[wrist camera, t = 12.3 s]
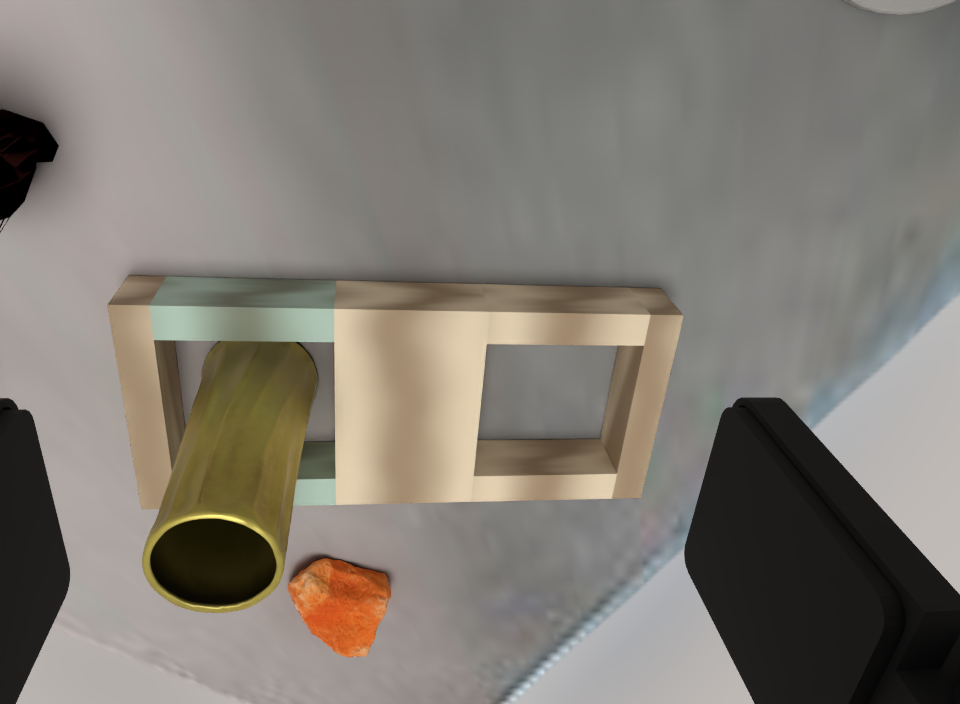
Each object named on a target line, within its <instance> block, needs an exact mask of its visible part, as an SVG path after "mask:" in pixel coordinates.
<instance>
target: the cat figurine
mask: <svg viewBox="0 0 960 704" xmlns="http://www.w3.org/2000/svg"><path fill="white" fill-rule="evenodd" d="M58 146H59V145H58V144H57V143H56V141H55V140H54V138H53V137H52V135H51V134H50V132H49V131H48V130H47V128H46V127H45V125H44V124H43V123H42V122H39V121H36V120H33V119H30V118H27V117H24V116H21V115H18V114H15V113H12V112H10V111H7V110H0V220H2V219H3V221H4V219H5V218H8V217H9V218H10V217H11V215H12V214H13V213H14V212H15V211H16V210H17V209H18V208H19V207H20V206H21V205H22V203H23V202H24V201H25V198H26V195H27V193H28V190H29V187H30V184H31V181H32V178H33V176H34V173H35V170H36V162H53V159H54V156H55V154H56V151H57V149H58ZM9 218H8V219H9ZM3 221H2V223H3ZM7 221H8V220H7ZM2 223H1V225H2ZM6 223H7V222H6ZM6 223H5V224H6ZM1 225H0V227H1ZM4 226H5V225H4ZM4 226H3V227H4ZM2 229H3V228H2ZM1 231H2V230H1ZM1 231H0V232H1Z"/></svg>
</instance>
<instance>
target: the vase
mask: <svg viewBox="0 0 960 704" xmlns="http://www.w3.org/2000/svg"><path fill="white" fill-rule="evenodd" d="M317 383H318V377H317V372H316V369H315V366H314V363H313V361H312V359H311V358H310V356H309V355H308V353H307V352H306V351H305V350H304V349H303V348H302V347H301V346H300V345H299V344H297V343H296V342H273V341H220V342H219V343H218V344H217V345H215V346H214V347H213V349H212V350H211V351H210V352H209V354H208V355H207V357H206V359H205V362H204V365H203V368H202V380H201V384H200V387H199V390H198V393H197V395H196V397H195V400H194V403H193V406H192V409H191V412H190V416H189V419H188V423H187V426H186V429H185V432H184V435H183V438H182V441H181V444H180V447H179V450H178V454H177V457H176V460H175V463H174V466H173V470H172V473H171V476H170V479H169V482H168V485H167V488H166V491H165V494H164V497H163V500H162V503H161V506H160V510H159V513H158V516H157V519H156V521H155V523H154V525H153V527H152V529H151V531H150V533H149V536H148V538H147V541H146V544H145V548H144V552H143V557H142V566H143V571H144V574H145V576H146V578H147V580H148V582H149V584H150V585H151V587H152V588H153V589H154V590H155V591H156V592H157V593H158V594H160V595H161V596H162V597H164V598H165V599H167V600H168V601H170V602H171V603H173V604H175V605H177V606H179V607H182V608H185V609H189V610H193V611H198V612H212V613H223V612H232V611H238V610H242V609H245V608H248V607H251V606H253V605H255V604H257V603H258V602H260V601H261V600H263V599H264V598H265V597H267V596H268V595H269V594H271V593H272V592H273V591H274V590H275V589H276V587H277V586H278V584H279V582H280V580H281V578H282V574H283V571H284V565H285V557H286V551H287V544H288V536H289V530H290V523H291V516H292V509H293V502H294V495H295V488H296V481H297V476H298V470H299V464H300V459H301V453H302V448H303V443H304V438H305V433H306V428H307V423H308V419H309V414H310V409H311V405H312V402H313V400H314V397H315V393H316V388H317Z"/></svg>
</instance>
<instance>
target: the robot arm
mask: <svg viewBox="0 0 960 704" xmlns="http://www.w3.org/2000/svg"><path fill="white" fill-rule="evenodd" d="M843 1H845V2H847V3H849V4H851V5H853V6H855V7H857V8H859V9H863V10H868V11H872V12H877V13H883V14H897V15H906V14H914V13H921V12H928V11H930V10H933V9H936V8H939V7H942V6H945V5H948V4H951V3H953V2H955V1H956V0H843ZM684 555H685V564H686V567H687V570H688V573H689V575H690V577H691V579H692V581H693V583H694V585H695V586H696V589H697V590H698V593H699V594H700V597H701V598H702V600H703V602H704V604H705V606H706V608H707V610H708V612H709V614H710V616H711V618H712V620H713V622H714V624H715V626H716V628H717V630H718V632H719V634H720V636H721V638H722V640H723V642H724V644H725V646H726V648H727V650H728V652H729V654H730V656H731V658H732V660H733V661H734V664H735V666H736V668H737V670H738V672H739V674H740V676H741V677H742V680H743V681H744V683H745V685H746V687H747V689H748V691H749V693H750V695H751V697H752V699H753V701H754V703H755V704H960V594H959V593H958V592H957V591H956V590H955V589H954V588H953V587H952V586H951V585H950V583H949V582H948V581H947V580H946V579H945V578H944V577H943V576H942V575H941V573H940V572H939V571H938V570H937V569H936V568H935V567H934V566H933V565H932V564H931V563H930V561H929V560H928V559H927V558H926V557H925V556H924V555H923V554H922V553H921V551H920V550H919V549H918V548H917V547H916V546H915V545H914V544H913V543H912V541H911V540H910V539H909V538H908V537H907V536H906V535H905V534H904V533H903V532H902V530H901V529H900V528H899V527H898V526H897V525H896V524H895V523H894V522H893V521H892V519H891V518H890V517H889V516H888V515H887V514H886V513H885V512H884V511H883V510H882V509H881V507H880V506H879V505H878V504H877V503H876V502H875V501H874V500H873V498H872V497H871V496H870V495H869V494H868V493H867V492H866V491H865V490H864V489H863V487H861V485H860V484H859V483H858V482H857V481H856V480H855V479H854V478H853V476H852V475H851V474H850V473H849V472H848V471H847V470H846V469H845V468H844V466H843V465H842V464H841V463H840V462H839V461H838V460H837V459H836V458H835V457H834V456H833V455H832V453H831V452H830V451H829V450H828V449H827V448H826V447H825V446H824V444H823V443H822V442H821V441H820V440H819V439H818V438H817V437H816V436H815V435H814V433H813V432H812V431H811V430H810V429H809V428H808V427H807V426H806V425H805V423H804V422H803V421H802V420H801V419H800V418H799V417H798V416H797V415H796V414H795V412H794V411H793V410H792V409H791V408H790V407H789V406H788V405H787V404H786V403H785V402H784V401H783V400H782V399H780V398H740V399H737V400H736V402H735V403H734V404H733V407H729V408H726V409H725V410H724V411H723V413H722V415H721V418H720V422H719V425H718V429H717V433H716V436H715V440H714V443H713V447H712V451H711V454H710V458H709V461H708V465H707V469H706V472H705V476H704V479H703V483H702V487H701V490H700V494H699V497H698V501H697V505H696V508H695V512H694V515H693V519H692V523H691V526H690V530H689V533H688V537H687V541H686V544H685V552H684ZM69 581H70V567H69V562H68V558H67V554H66V550H65V546H64V542H63V538H62V533H61V529H60V525H59V521H58V517H57V513H56V509H55V505H54V501H53V497H52V493H51V489H50V484H49V480H48V476H47V472H46V468H45V464H44V460H43V456H42V452H41V448H40V444H39V440H38V435H37V431H36V427H35V423H34V420H33V417H32V415H31V413H30V412H29V411H27V410H18V407H17V405H16V404H15V403H14V401H13V400H11V399H9V398H0V704H16V702H17V700H18V697H19V695H20V693H21V691H22V689H23V687H24V684H25V682H26V680H27V678H28V676H29V674H30V672H31V669H32V667H33V665H34V663H35V661H36V659H37V657H38V655H39V652H40V650H41V648H42V646H43V644H44V641H45V640H46V637H47V635H48V633H49V631H50V629H51V627H52V625H53V623H54V620H55V618H56V616H57V614H58V612H59V610H60V608H61V605H62V603H63V601H64V599H65V597H66V594H67V591H68V587H69Z"/></svg>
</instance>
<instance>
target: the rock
mask: <svg viewBox="0 0 960 704" xmlns="http://www.w3.org/2000/svg"><path fill="white" fill-rule="evenodd" d="M288 591H289V593H290V595H291V597H292V600H293V602H294V604H295V606H296V608H297V610H298V612H299V613H300V615H301V617H302V620H303V622H305V624H306V625H307V626H308V628H309V629H310V630H311V633H312V634H313V635H316V636H317V637H318V638H320V639H321V640H322V641H323V642H324V643H326V644H327V645H328V646H329V647H331V648H332V649H333V651H334V652H336V653H338V654H339V655H342V656H345V657H353V656H358V657H359V656H361V657H363V656H366V655H367V654H368V652H369V648H370V647H371V645H372V643H373V641H374V639H375V634H376V630H377V626H378V624H379V623H380V621H381V620H382V618H383V617H384V615H385V613H386V611H387V603H388V601H389V599H390V597H391V590H390V585H389V582H388V579H387V577H386V575H385V573H380V572H376V571H372V570H368V569H362V568H360V567H354V566H353V565H351V564H349V563H346V562H344V561H341V560H332V559H327V558H324V559H320V560H318V561H315V562H313V563H312V564H311V565H310V566H308V567H307V568H306V569H304V570H301V571H300V572H299V574H298V575H297V576H296V577H294V578H293V579H292V581H291V582H290V583H289V584H288Z"/></svg>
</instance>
